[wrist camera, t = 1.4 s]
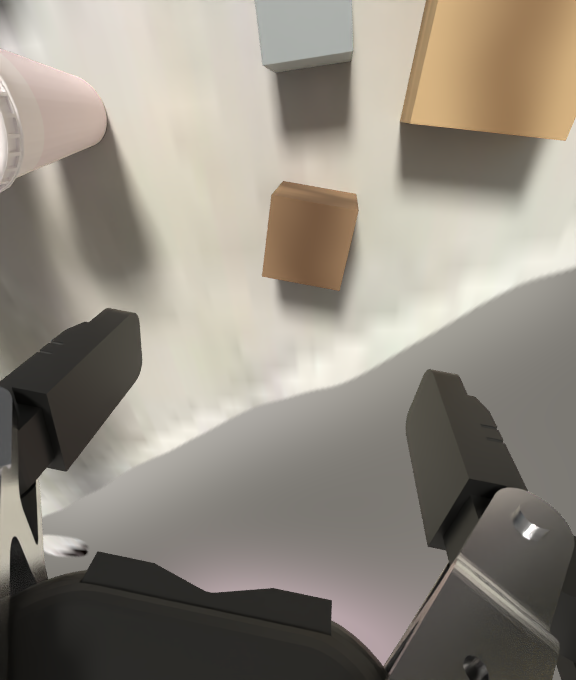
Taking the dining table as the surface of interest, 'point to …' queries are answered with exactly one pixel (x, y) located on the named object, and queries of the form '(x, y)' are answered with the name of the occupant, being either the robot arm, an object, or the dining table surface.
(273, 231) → the walnut cube
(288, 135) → the dining table surface
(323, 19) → the slate-grey cube
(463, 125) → the teak block
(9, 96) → the smoothie
